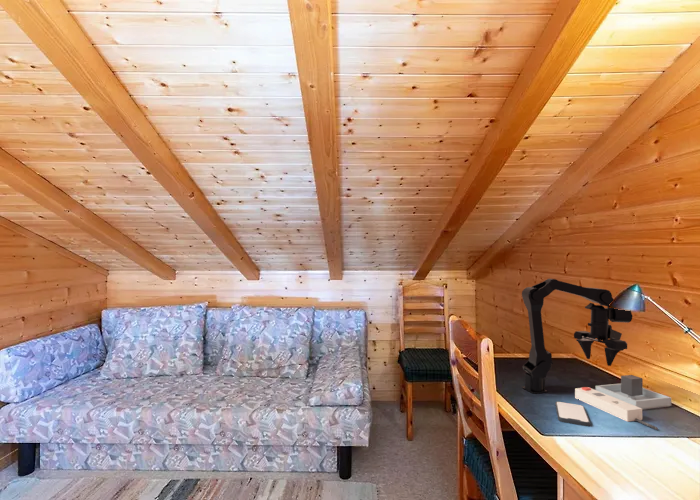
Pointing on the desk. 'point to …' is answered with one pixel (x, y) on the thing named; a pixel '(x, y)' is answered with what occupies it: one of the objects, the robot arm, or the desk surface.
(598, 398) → the power strip
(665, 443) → the desk surface
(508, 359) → the desk surface
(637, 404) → the tray
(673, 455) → the desk surface
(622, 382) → the charger
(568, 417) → the phone case
